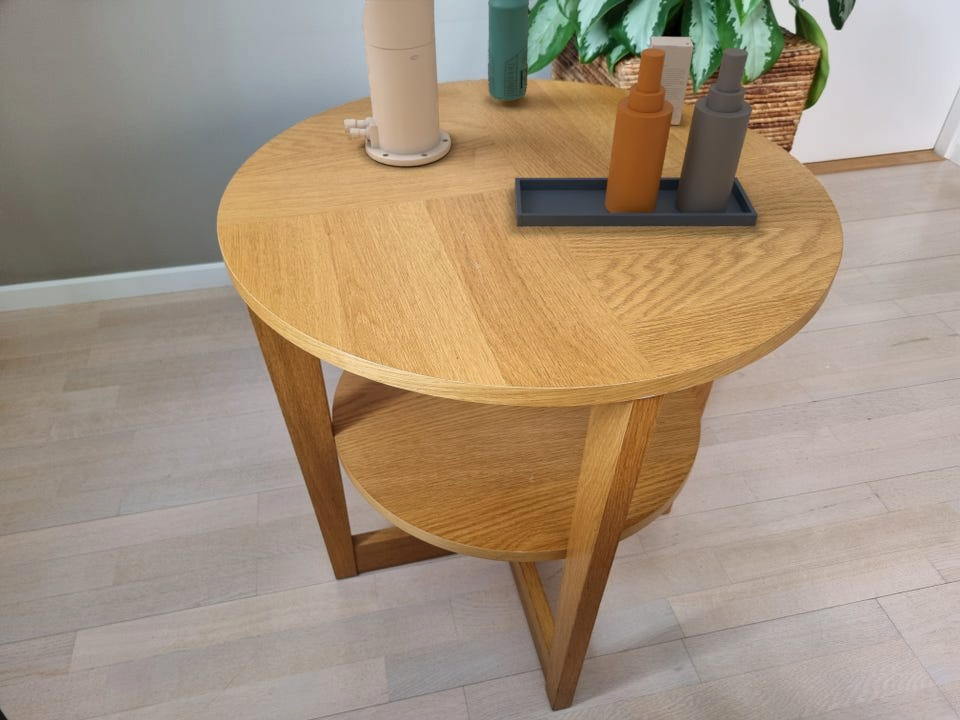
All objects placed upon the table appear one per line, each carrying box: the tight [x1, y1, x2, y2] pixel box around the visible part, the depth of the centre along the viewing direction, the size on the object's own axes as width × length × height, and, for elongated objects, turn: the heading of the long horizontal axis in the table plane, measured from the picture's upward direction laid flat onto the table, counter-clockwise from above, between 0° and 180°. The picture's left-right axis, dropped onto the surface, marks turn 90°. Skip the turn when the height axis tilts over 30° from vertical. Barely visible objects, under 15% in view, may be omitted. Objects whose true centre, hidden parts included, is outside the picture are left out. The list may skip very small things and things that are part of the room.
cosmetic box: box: [648, 36, 695, 126], centre depth 107 cm, size 6×4×12 cm
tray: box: [514, 176, 759, 227], centre depth 89 cm, size 29×10×2 cm, turn 90°
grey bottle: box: [675, 47, 753, 213], centre depth 83 cm, size 6×6×19 cm
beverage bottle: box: [486, 0, 530, 101], centre depth 110 cm, size 6×7×20 cm
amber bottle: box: [605, 47, 674, 213], centre depth 83 cm, size 6×6×19 cm
